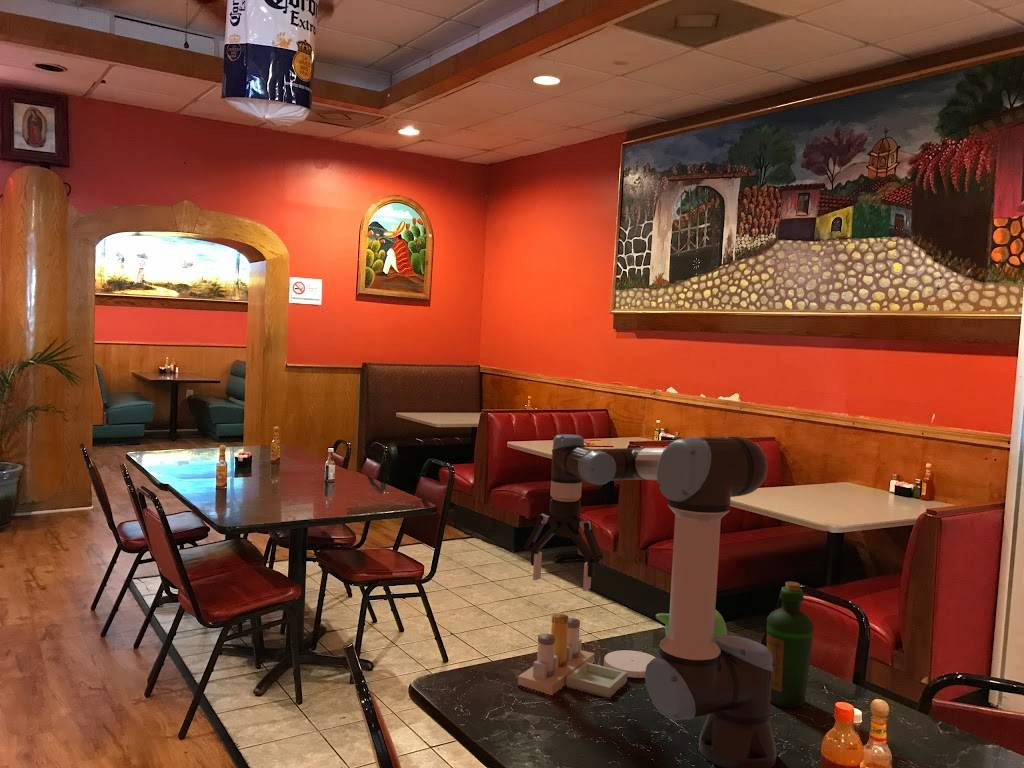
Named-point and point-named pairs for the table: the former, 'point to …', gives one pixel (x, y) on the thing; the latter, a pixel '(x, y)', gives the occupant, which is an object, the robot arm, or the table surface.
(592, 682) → the tray
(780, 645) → the bottle
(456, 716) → the table surface
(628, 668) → the plastic lid
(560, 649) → the cylinder
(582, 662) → the block
